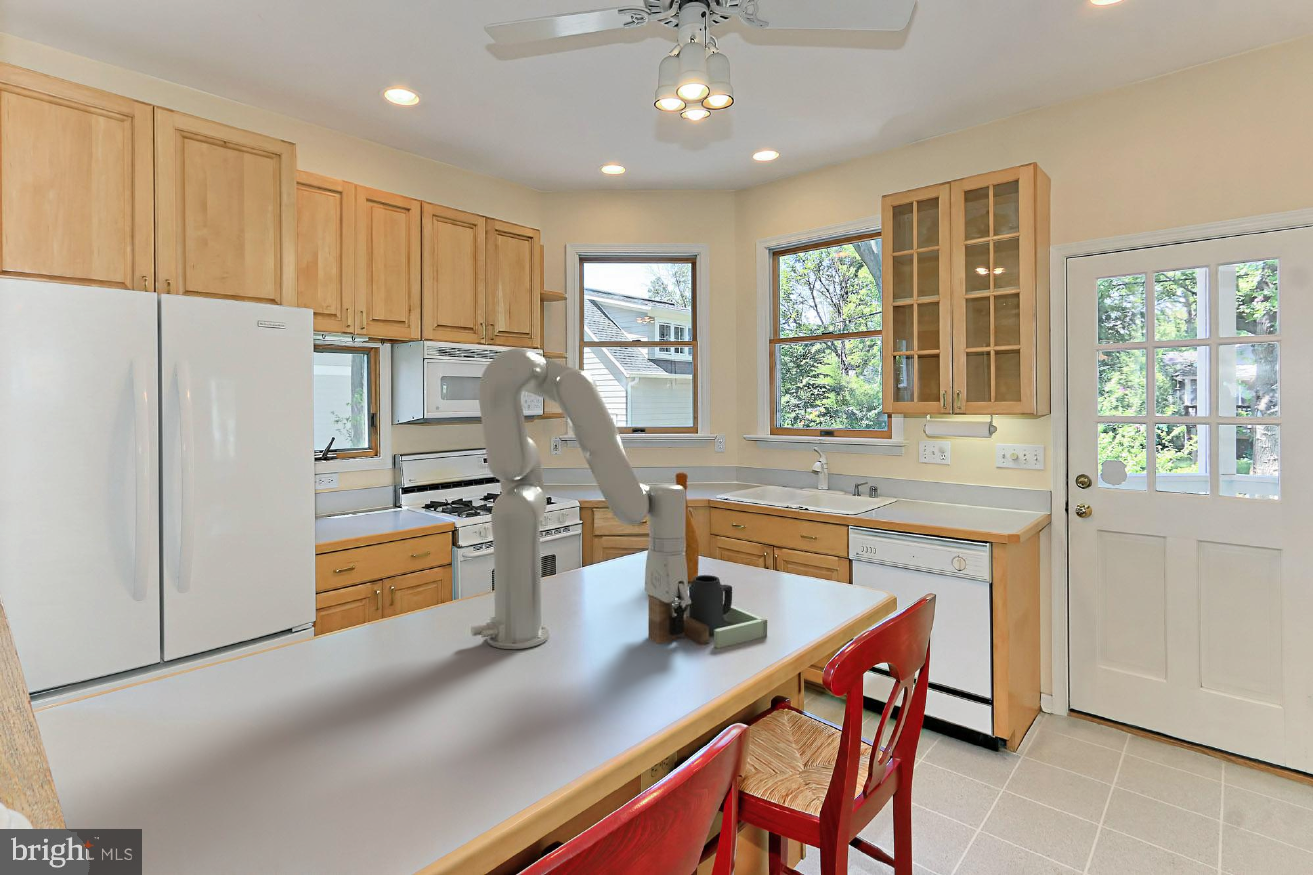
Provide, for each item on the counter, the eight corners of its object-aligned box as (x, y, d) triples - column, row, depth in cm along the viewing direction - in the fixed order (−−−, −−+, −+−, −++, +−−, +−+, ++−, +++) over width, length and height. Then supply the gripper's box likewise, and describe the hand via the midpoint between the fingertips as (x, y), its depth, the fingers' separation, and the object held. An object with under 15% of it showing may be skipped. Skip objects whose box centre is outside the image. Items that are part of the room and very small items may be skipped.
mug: (706, 639, 136) (706, 586, 136) (676, 628, 143) (676, 577, 143) (744, 627, 144) (745, 576, 143) (714, 616, 151) (715, 568, 150)
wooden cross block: (671, 651, 130) (672, 607, 129) (636, 630, 141) (636, 589, 141) (708, 643, 134) (709, 600, 134) (671, 623, 146) (671, 583, 146)
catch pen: (717, 648, 131) (717, 631, 131) (662, 619, 149) (662, 604, 148) (767, 636, 138) (767, 619, 138) (708, 610, 156) (708, 595, 155)
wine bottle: (699, 584, 178) (700, 474, 176) (663, 584, 178) (663, 474, 176) (697, 575, 187) (698, 470, 186) (663, 574, 188) (663, 470, 186)
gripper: (630, 538, 141) (630, 620, 142) (675, 554, 127) (675, 645, 128) (659, 535, 145) (659, 614, 146) (706, 550, 131) (706, 638, 132)
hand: (666, 628), depth 137 cm, fingers open, 6 cm apart
